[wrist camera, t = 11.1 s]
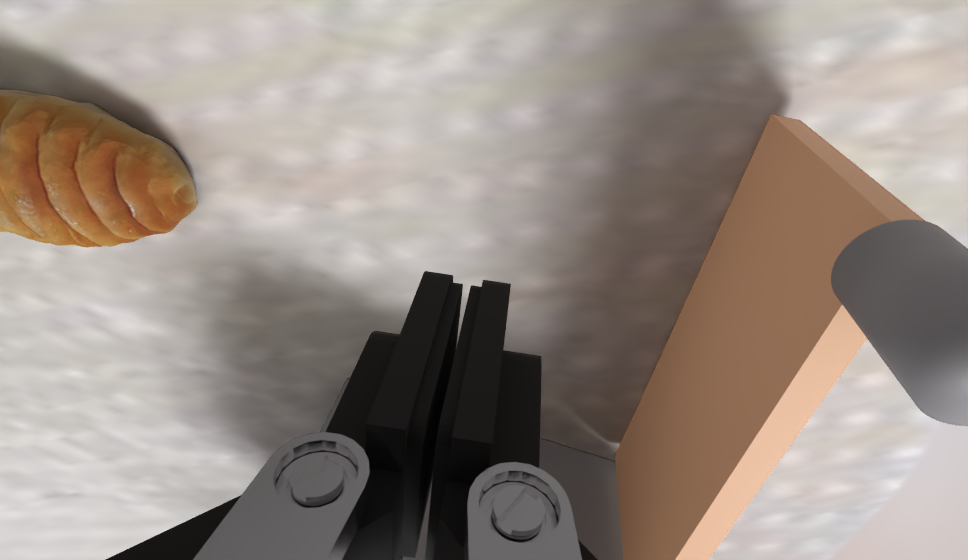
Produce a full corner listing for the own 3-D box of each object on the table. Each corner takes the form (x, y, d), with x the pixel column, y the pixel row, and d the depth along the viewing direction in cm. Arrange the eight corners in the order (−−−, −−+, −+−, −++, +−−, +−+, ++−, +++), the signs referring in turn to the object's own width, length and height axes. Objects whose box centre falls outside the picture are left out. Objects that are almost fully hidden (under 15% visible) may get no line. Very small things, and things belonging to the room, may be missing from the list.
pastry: (187, 98, 22) (122, 127, 19) (220, 245, 26) (170, 289, 23) (-27, 75, 23) (-125, 99, 20) (34, 220, 26) (-39, 260, 23)
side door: (753, 104, 19) (968, 303, 9) (823, 118, 19) (1122, 335, 9) (601, 452, 29) (618, 735, 18) (646, 463, 28) (688, 751, 18)
